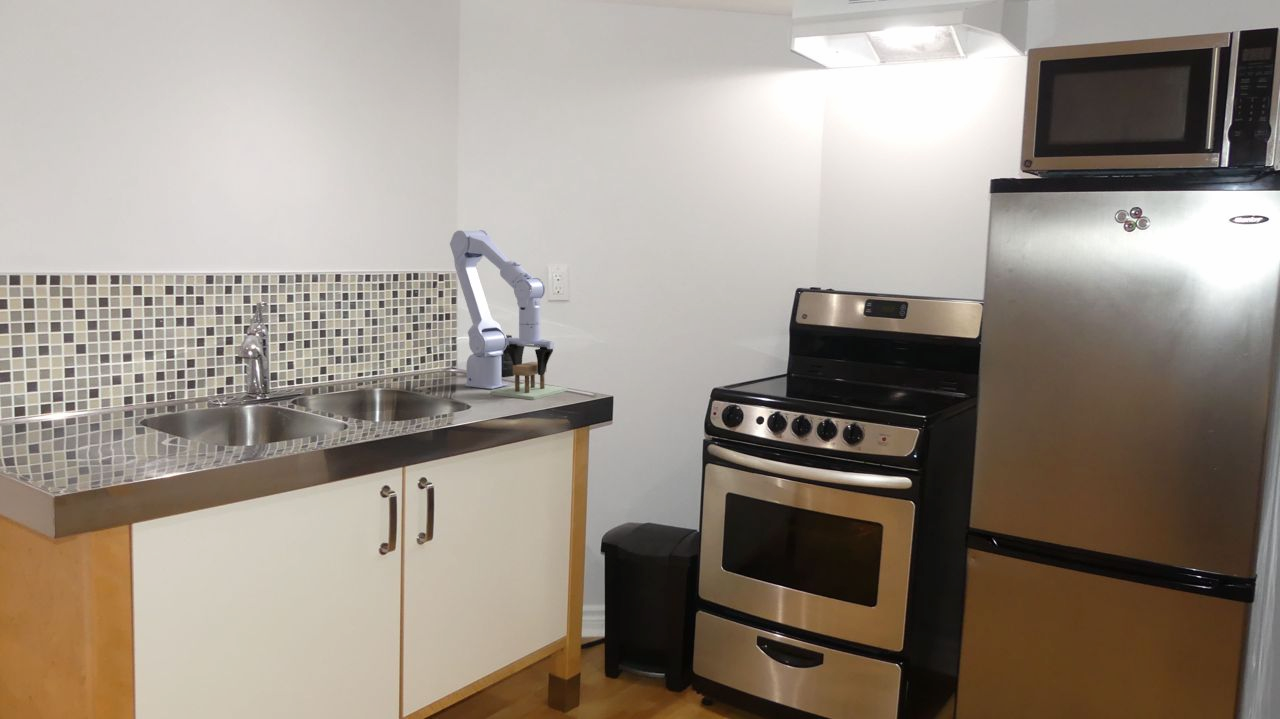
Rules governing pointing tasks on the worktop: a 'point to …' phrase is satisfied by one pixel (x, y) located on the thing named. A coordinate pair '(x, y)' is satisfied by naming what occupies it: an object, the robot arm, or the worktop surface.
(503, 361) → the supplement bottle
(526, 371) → the walnut stool
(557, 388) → the sage board
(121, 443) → the worktop surface
